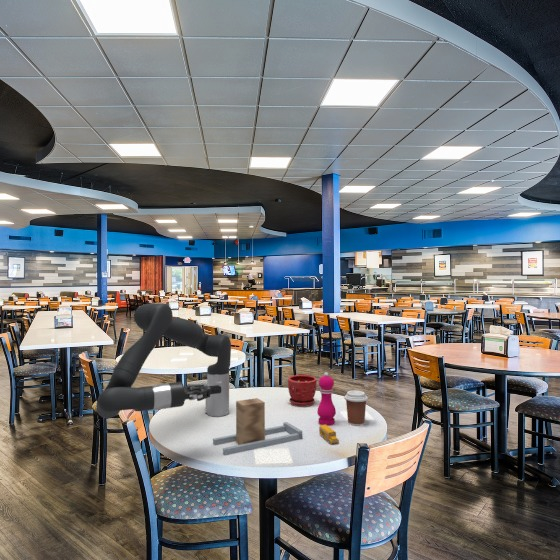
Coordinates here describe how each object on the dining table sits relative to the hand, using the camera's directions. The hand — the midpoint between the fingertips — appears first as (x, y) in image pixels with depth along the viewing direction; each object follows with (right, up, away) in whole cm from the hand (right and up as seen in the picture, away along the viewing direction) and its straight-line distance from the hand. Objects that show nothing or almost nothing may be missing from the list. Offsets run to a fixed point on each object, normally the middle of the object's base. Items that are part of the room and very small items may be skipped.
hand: (219, 388), depth 135 cm
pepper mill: (+38, -21, +26) cm, 50 cm away
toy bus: (+37, -20, +8) cm, 43 cm away
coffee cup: (+50, -21, +26) cm, 60 cm away
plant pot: (+30, -21, +53) cm, 64 cm away
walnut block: (+10, -20, +5) cm, 23 cm away
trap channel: (+12, -20, +6) cm, 24 cm away
